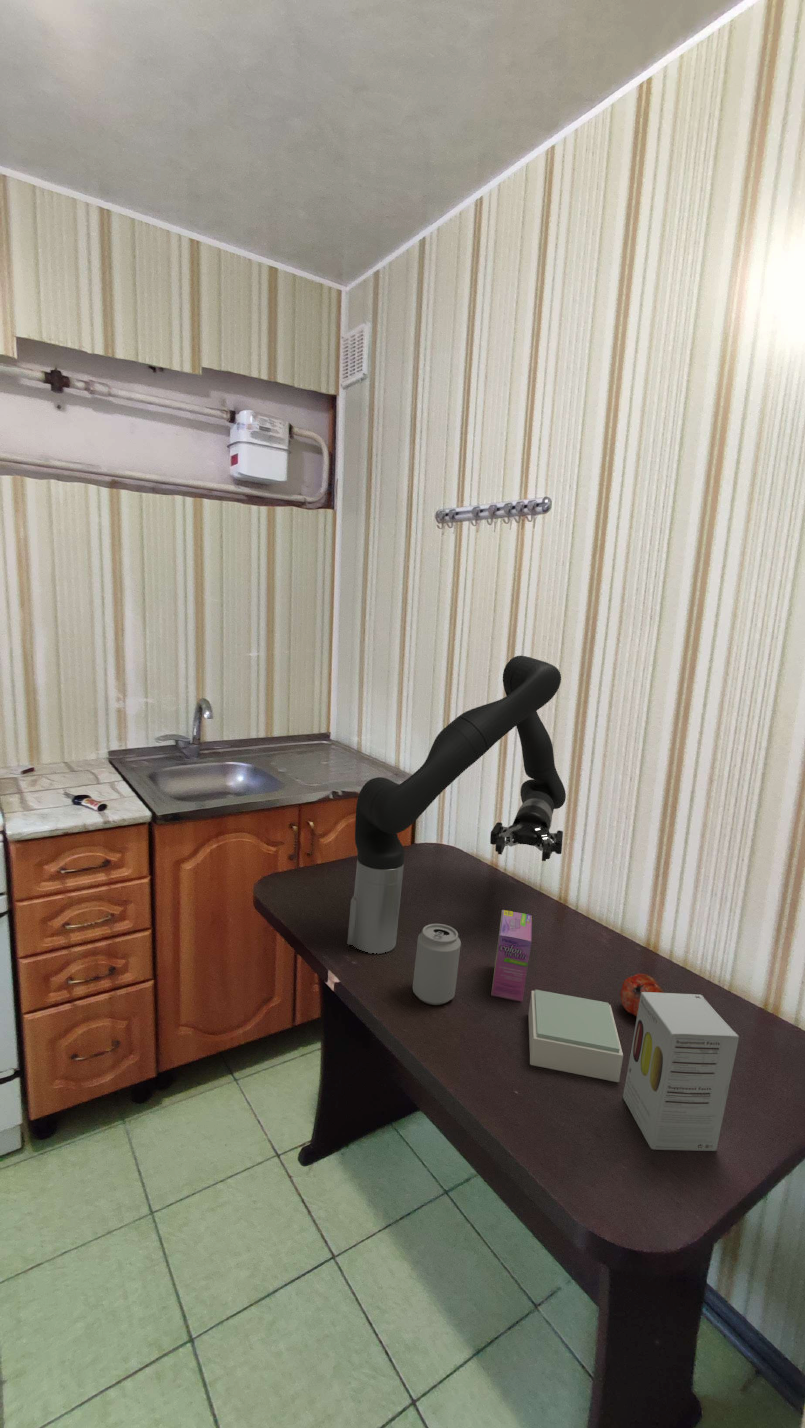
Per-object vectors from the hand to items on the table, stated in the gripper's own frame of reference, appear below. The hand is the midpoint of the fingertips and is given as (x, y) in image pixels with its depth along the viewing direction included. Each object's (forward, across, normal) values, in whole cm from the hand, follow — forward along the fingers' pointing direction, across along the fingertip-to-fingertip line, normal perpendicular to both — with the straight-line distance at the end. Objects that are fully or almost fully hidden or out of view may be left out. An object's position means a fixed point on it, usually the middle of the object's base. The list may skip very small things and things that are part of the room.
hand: (521, 853), depth 125 cm
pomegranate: (+11, +23, +22) cm, 34 cm away
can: (+22, -11, +19) cm, 31 cm away
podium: (+25, +12, +20) cm, 34 cm away
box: (+12, 0, +21) cm, 24 cm away
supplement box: (+36, +26, +19) cm, 49 cm away
